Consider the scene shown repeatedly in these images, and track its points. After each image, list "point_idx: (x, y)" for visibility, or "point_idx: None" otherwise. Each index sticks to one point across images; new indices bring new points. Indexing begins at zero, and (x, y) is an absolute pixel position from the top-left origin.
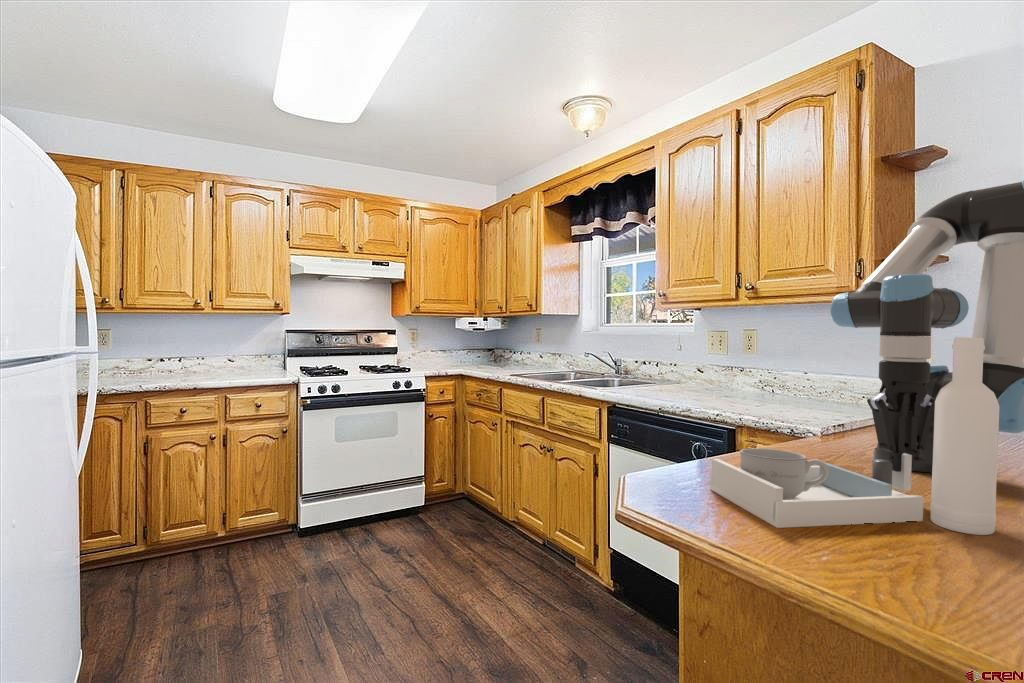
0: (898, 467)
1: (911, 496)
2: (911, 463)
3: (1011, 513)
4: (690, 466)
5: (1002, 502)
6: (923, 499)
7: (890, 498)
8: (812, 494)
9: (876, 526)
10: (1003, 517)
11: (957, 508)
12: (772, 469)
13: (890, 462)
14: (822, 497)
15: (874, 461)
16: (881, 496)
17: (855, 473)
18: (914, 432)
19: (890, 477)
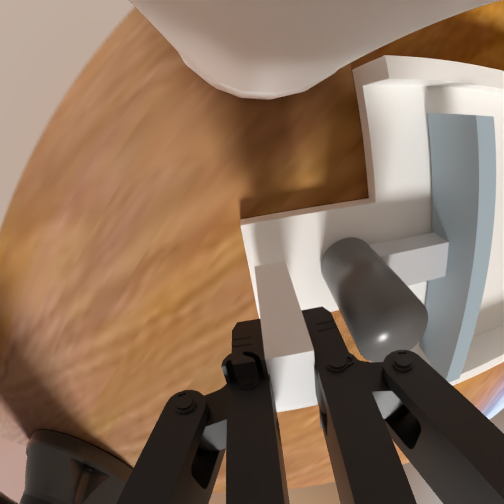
0: (316, 319)
1: (424, 64)
2: (263, 327)
3: (26, 179)
4: (499, 406)
5: (6, 270)
6: (380, 57)
7: (487, 67)
8: (501, 253)
9: (479, 62)
10: (63, 135)
11: None
12: None
13: (381, 313)
14: (500, 230)
15: (425, 325)
16: (500, 86)
17: (479, 268)
18: (253, 485)
19: (364, 268)
